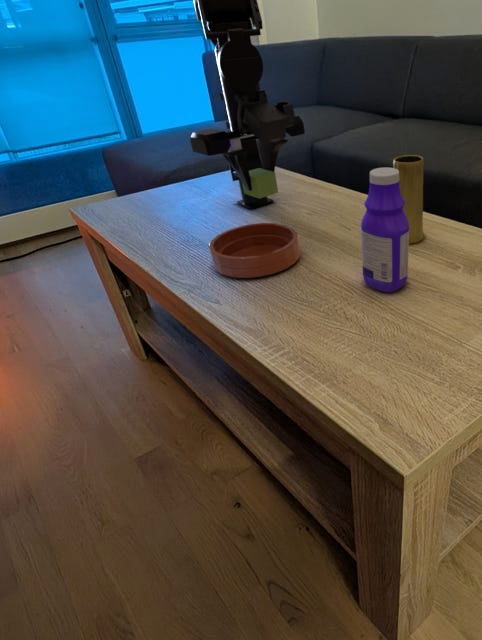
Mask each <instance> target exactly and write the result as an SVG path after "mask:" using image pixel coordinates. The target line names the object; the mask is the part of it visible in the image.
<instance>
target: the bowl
mask: <svg viewBox="0 0 482 640" xmlns="http://www.w3.org/2000/svg"><path fill="white" fill-rule="evenodd" d="M298 234H299V233H298V232H297V231H296V230H295V229H294V227H292V226H291V227H290V226H289V225H286V224H280V223H276V222H275V223H272V222H271V223H270V222H260V223H251V224H246V225H241V226H236V227H234V228H231V229H228V230H225V231H223V232H221V233H219V234H217V235H216V236H215V237H214V238H213V239H211V241H210V242H209V245H208V250H209V254H210V257H211V261H212V264H213V267H214V269H215V272H218V273H219V274H221V275H223V276H226V277H231V278H238V279H239V278H240V279H243V278H244V279H251V278H259V277H264V276H269V275H273V274H276V273H279V272H282V271H284V270H286V269H288V268H290V267H291V266H293V265H294V264H295V263H296V262H297V261H298V260H299V258H300V256H301V249H300V243H299V235H298Z"/></svg>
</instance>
